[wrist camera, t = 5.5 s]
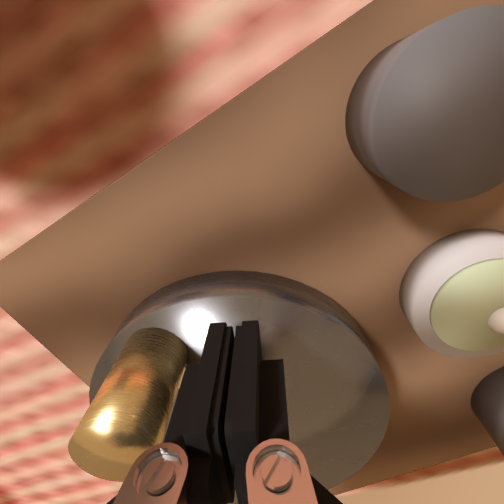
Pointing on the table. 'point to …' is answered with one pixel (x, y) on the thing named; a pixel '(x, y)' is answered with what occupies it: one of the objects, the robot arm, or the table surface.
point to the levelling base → (324, 218)
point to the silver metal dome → (273, 347)
